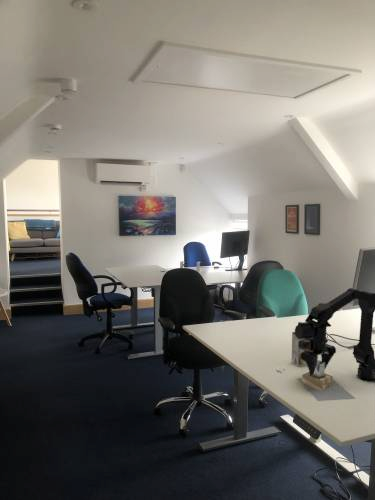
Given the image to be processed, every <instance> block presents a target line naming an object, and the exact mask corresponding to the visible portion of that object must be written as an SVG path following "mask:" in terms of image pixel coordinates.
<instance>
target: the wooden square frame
mask: <svg viewBox="0 0 375 500" xmlns="http://www.w3.org/2000/svg"><path fill="white" fill-rule="evenodd" d="M301 376H302V378H301V379H302V384H304V385H307V386H309V387H312V388H315V389H317V390H320V391H321V390H323V389H325V388H327V387H329V386H331V385H332V379H333V375H331V374H327V373H324V377H323V378H321V379H318V378H315V377H312V376H311V374H310V372H309V371H308V372H306V373H303V374H302V375H301ZM302 384H301V385H302Z"/></svg>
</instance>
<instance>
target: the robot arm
mask: <svg viewBox="0 0 375 500" xmlns="http://www.w3.org/2000/svg"><path fill="white" fill-rule="evenodd" d="M355 300H358V301H357V302H358V307H359V309H360V311H361V313H360V323H359V338H358V343H357V344H356V345H353V351H352V355H353V358H354V359H355V362H356V363H357V364H358V368H357V374H356V377H357V378H359V379H360V380H361V381H363V382H375V350H374V347H373V346H372V337H373V335H372V334H373V324H374V323H373V322H374V313H375V292H371V291H368V290H359V289H356V288H352V287H350V288H347V290H346V291H344V292H343V293H341V294H340V295H337V296H336V297H335V298H333V299H331V300H330V301H329V302H326V303H323V304H319V305H316V306H313V307H312V308H311V310H310V313H309V314H308V316H307V317H306V319H305V320H304V322H301V321H299V322H297V325H296V326H295V328H294V332H295V335H296V337H297V338H298V339H304V338H310V339H309V340H306V341H304V340H302V341H301V340H300V341H299V342H298V347H299V348H301V350H303V349H308V350H310V351H312V352H310V351H304V352H302V353H301V354H300V359H302V360H304V361H305V362H306V363H307V365H308V366H307V369H308V372H310V374H311V375H313V373H314V371H315V368H316V365H317V362H318V361H317V360H319V356H321V361H322V362H325V369H326V368H327V366H328V365H329V363H330V362H331V360H332V358H333V357H334V356H335V354H336V353H337V348H336V346H334V345H332V344H331V345H330V344H328V342H329V338H327V328H329V327H332V324H330V322H329V320H331V318H333V316H334V314H335V313H336V312H338V311H339V310H340V309H342V308H343V307H345V306H346V305H348V304H349V303H351V302H353V301H355Z"/></svg>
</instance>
